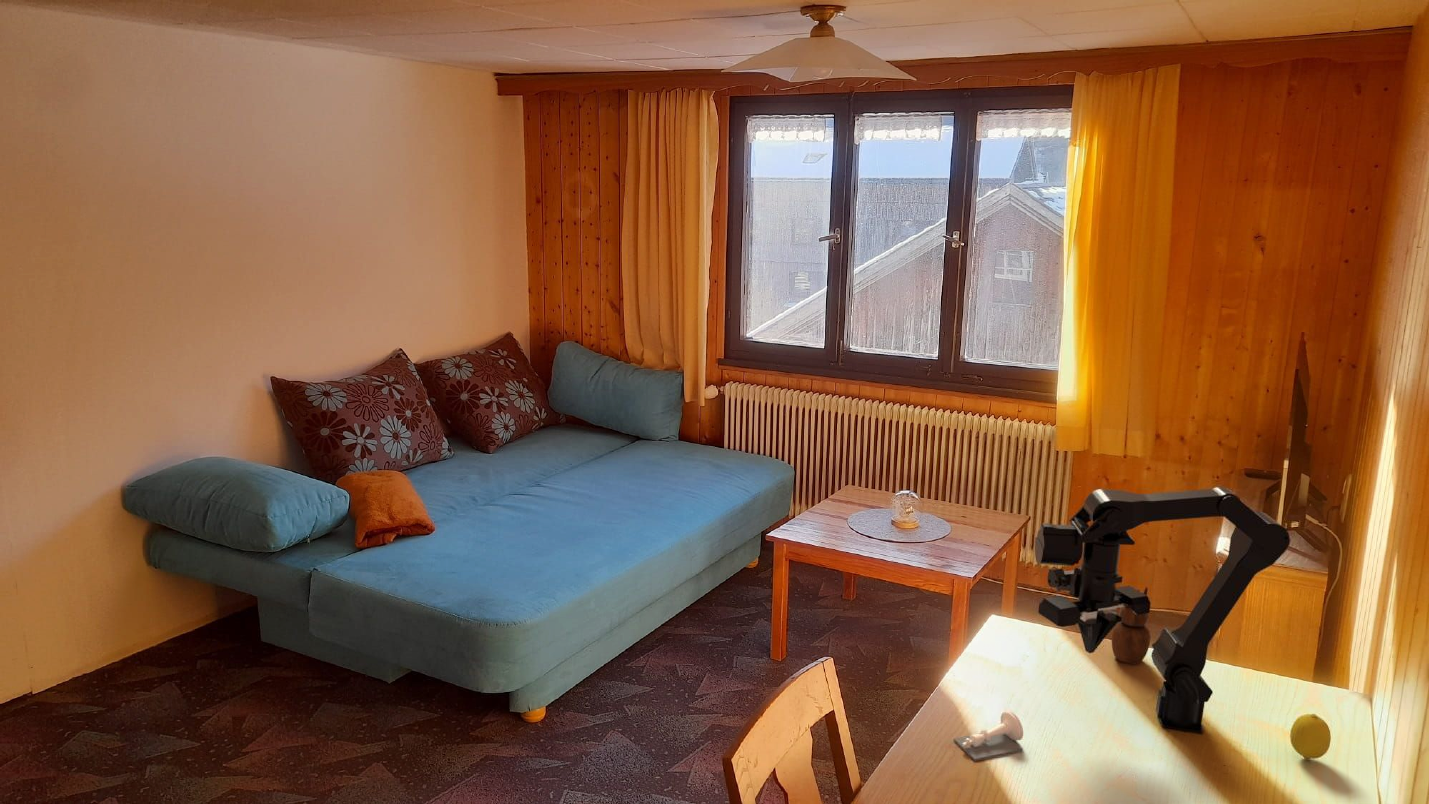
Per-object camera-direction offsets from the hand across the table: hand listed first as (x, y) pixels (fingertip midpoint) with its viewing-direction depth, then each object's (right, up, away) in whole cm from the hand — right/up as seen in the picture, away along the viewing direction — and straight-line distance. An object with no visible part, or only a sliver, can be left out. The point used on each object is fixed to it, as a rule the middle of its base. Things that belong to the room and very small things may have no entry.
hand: (1089, 651), depth 171 cm
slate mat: (-19, -14, -7) cm, 24 cm away
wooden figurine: (+16, -7, +23) cm, 29 cm away
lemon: (+32, -15, -9) cm, 36 cm away
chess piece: (-14, -11, -5) cm, 18 cm away
